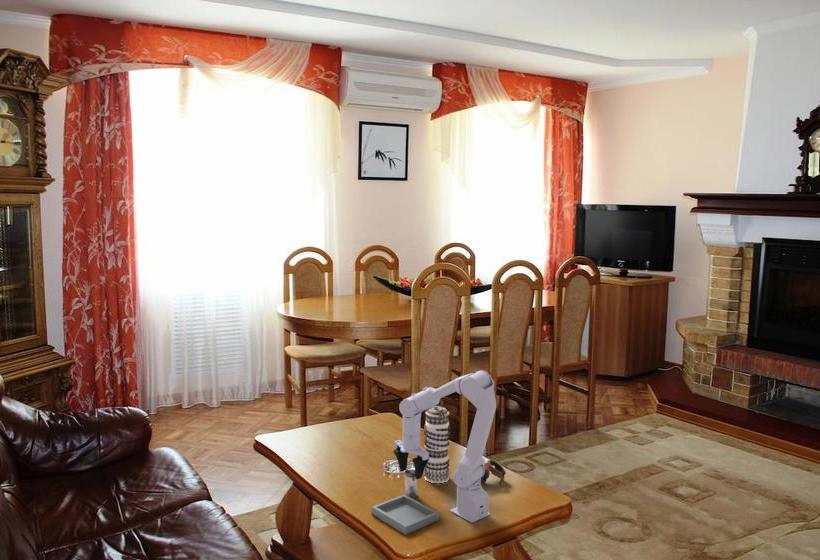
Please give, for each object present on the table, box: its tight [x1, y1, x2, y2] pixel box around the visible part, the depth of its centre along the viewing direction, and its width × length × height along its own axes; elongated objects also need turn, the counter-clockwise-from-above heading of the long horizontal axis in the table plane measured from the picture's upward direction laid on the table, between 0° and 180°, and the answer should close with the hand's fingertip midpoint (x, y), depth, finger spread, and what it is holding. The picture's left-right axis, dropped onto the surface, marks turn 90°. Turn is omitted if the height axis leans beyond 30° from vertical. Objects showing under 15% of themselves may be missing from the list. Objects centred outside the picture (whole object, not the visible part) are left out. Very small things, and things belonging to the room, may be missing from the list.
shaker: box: [404, 468, 418, 499], centre depth 218 cm, size 4×4×8 cm
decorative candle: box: [423, 405, 452, 484], centre depth 229 cm, size 9×9×25 cm
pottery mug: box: [481, 459, 507, 486], centre depth 227 cm, size 12×10×8 cm
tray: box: [371, 493, 440, 536], centre depth 203 cm, size 16×13×2 cm
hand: (411, 474), depth 217 cm, fingers open, 7 cm apart
